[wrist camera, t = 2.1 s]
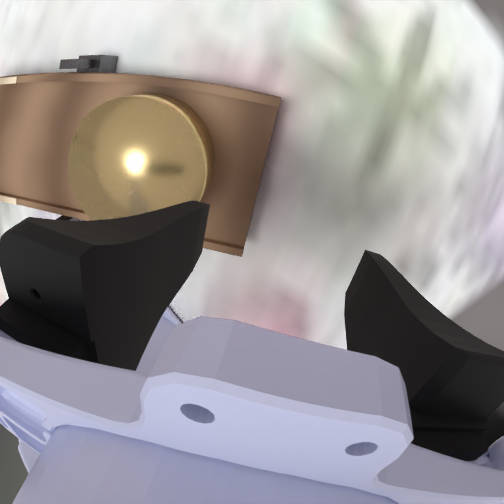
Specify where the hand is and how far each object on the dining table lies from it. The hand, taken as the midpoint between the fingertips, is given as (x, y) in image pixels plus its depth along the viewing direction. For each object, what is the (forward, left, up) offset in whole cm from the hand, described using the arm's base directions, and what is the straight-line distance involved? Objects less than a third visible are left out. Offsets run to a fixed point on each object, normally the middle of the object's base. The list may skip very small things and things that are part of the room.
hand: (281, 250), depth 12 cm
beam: (+11, +11, -6) cm, 16 cm away
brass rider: (+6, +6, -6) cm, 11 cm away
